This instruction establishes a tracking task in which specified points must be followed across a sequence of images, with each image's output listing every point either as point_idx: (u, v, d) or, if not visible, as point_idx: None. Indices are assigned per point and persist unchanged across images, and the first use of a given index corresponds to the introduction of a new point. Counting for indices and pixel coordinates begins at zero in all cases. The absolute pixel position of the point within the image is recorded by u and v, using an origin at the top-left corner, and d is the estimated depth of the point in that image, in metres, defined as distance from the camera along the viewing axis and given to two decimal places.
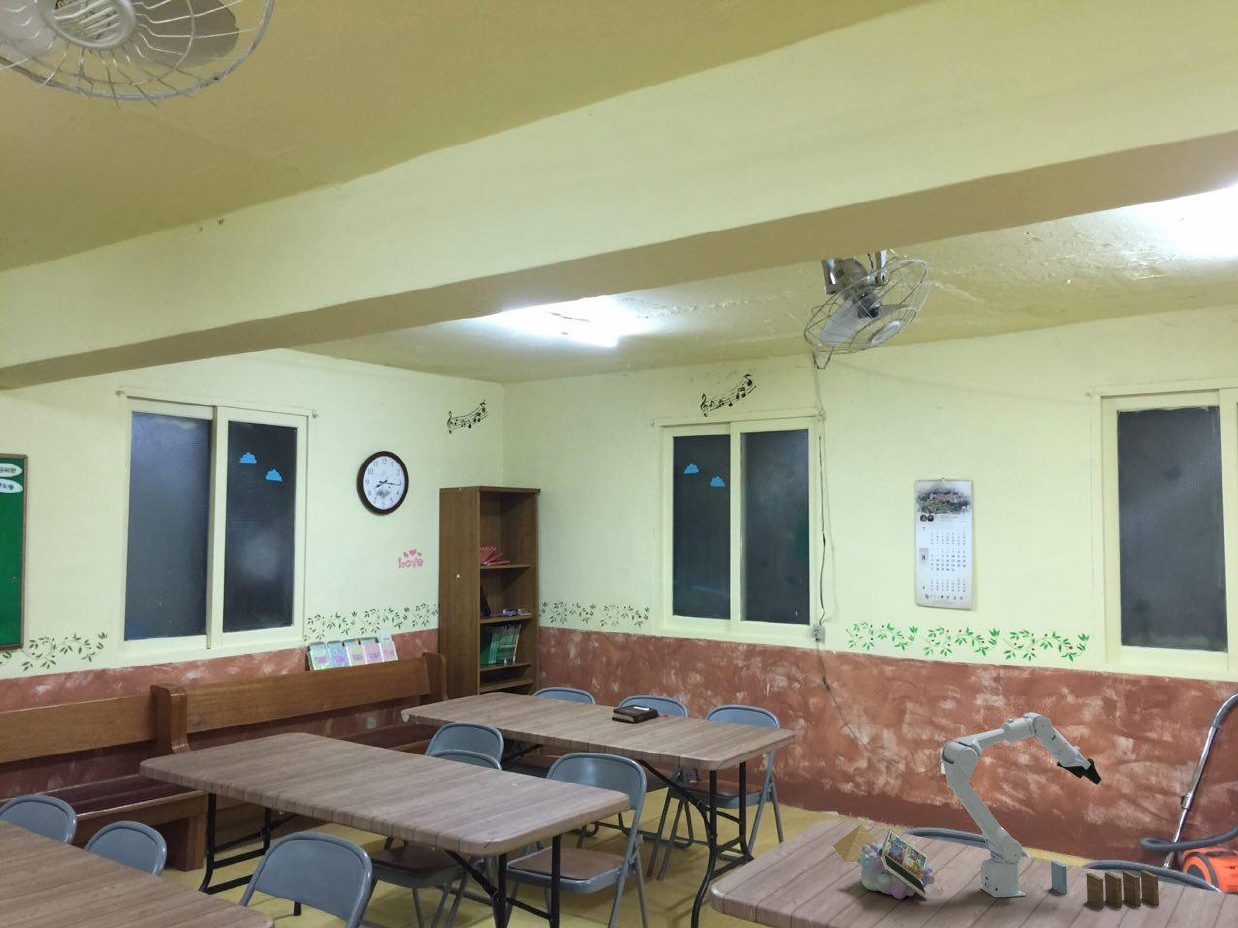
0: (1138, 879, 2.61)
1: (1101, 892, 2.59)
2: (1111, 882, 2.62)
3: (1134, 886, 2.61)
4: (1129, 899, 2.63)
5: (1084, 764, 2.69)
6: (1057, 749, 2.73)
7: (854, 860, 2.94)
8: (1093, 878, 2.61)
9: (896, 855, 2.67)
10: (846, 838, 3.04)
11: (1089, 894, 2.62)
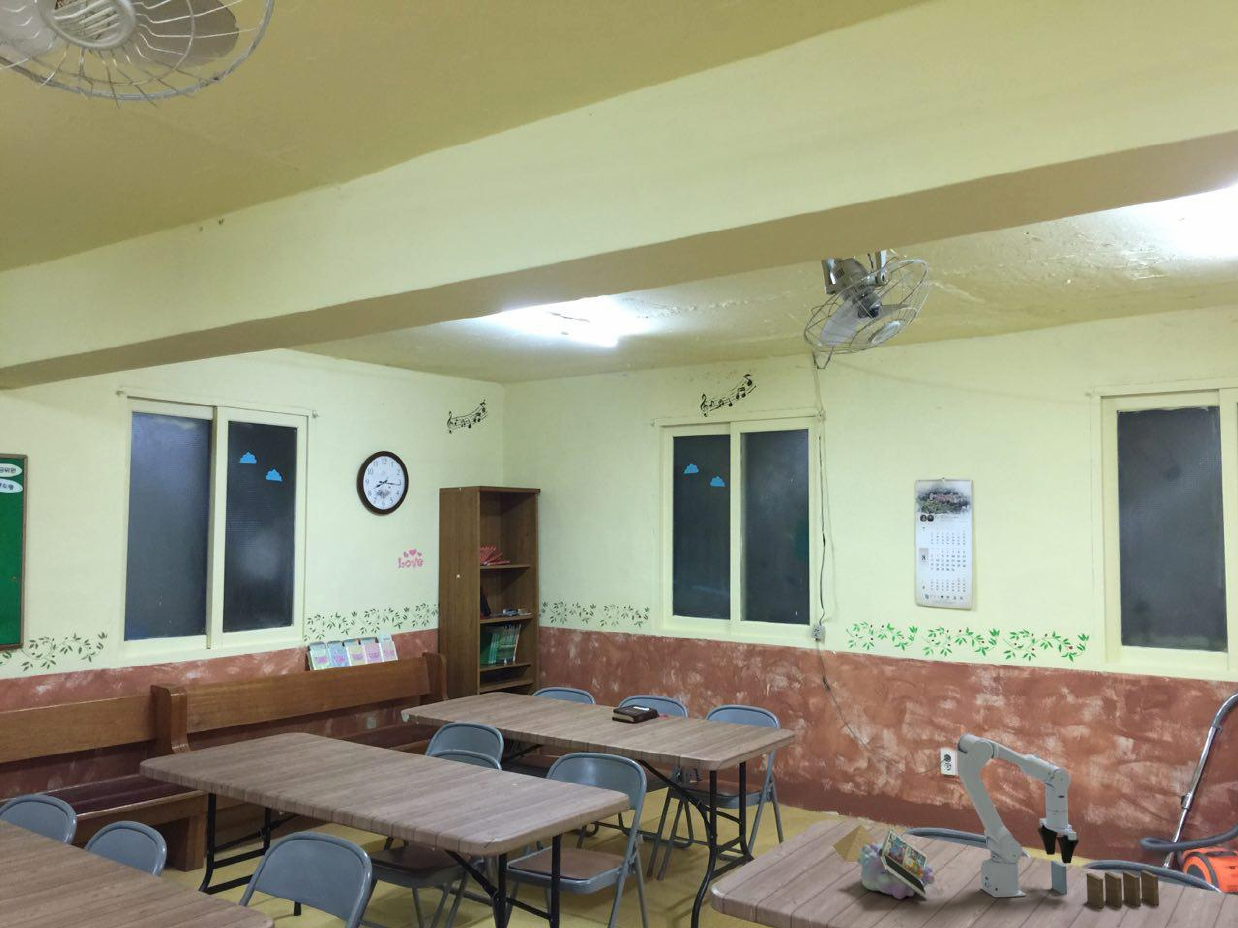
0: (1138, 879, 2.61)
1: (1101, 892, 2.59)
2: (1111, 882, 2.62)
3: (1134, 886, 2.61)
4: (1129, 899, 2.63)
5: (1071, 834, 2.66)
6: (1055, 808, 2.71)
7: (854, 860, 2.94)
8: (1093, 878, 2.61)
9: (896, 855, 2.67)
10: (846, 838, 3.04)
11: (1089, 894, 2.62)
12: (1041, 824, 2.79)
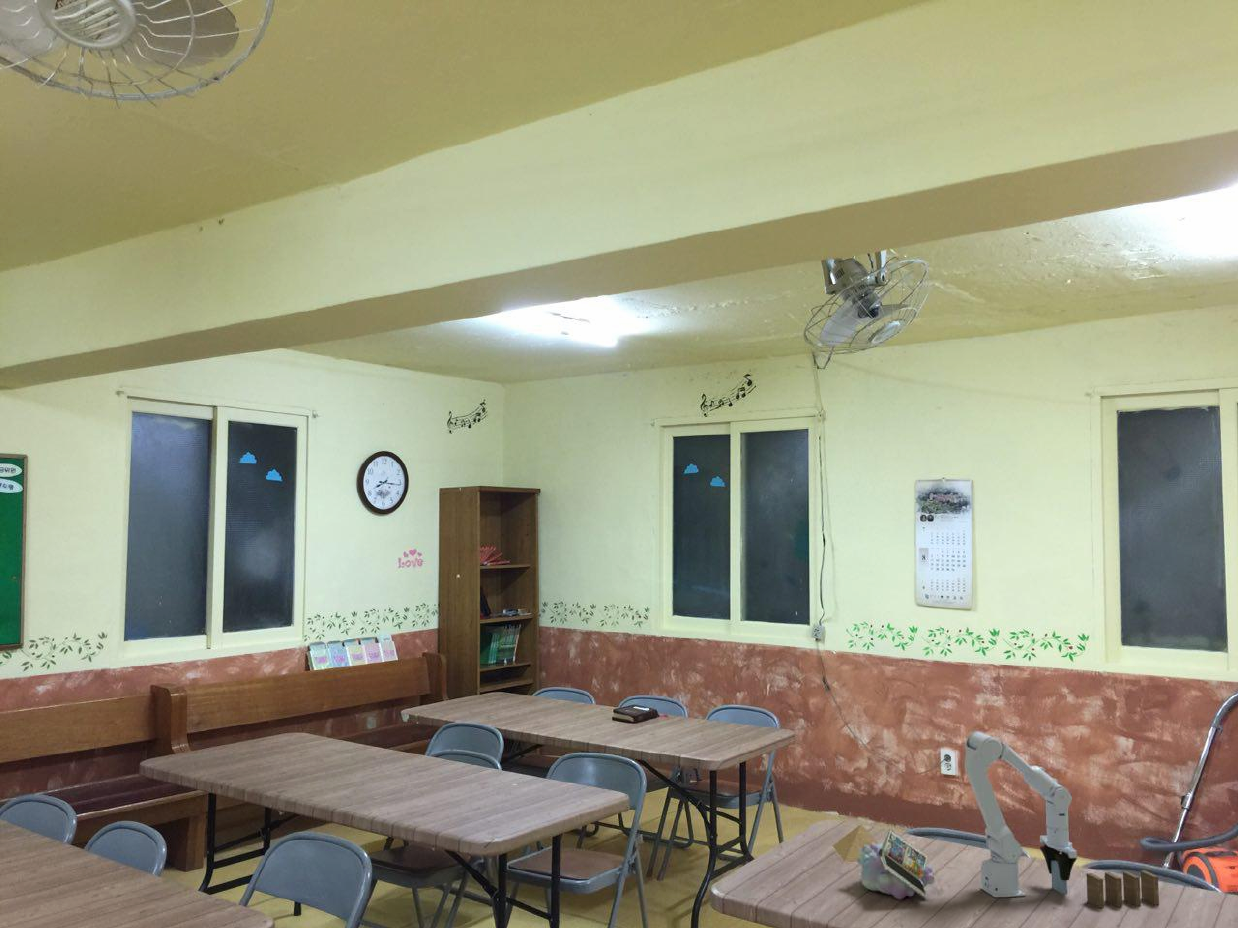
0: (1138, 879, 2.61)
1: (1101, 892, 2.59)
2: (1111, 882, 2.62)
3: (1134, 886, 2.61)
4: (1129, 899, 2.63)
5: (1072, 852, 2.65)
6: (1056, 826, 2.70)
7: (854, 860, 2.94)
8: (1093, 878, 2.61)
9: (896, 855, 2.67)
10: (845, 838, 3.04)
11: (1089, 894, 2.62)
12: (1041, 841, 2.78)
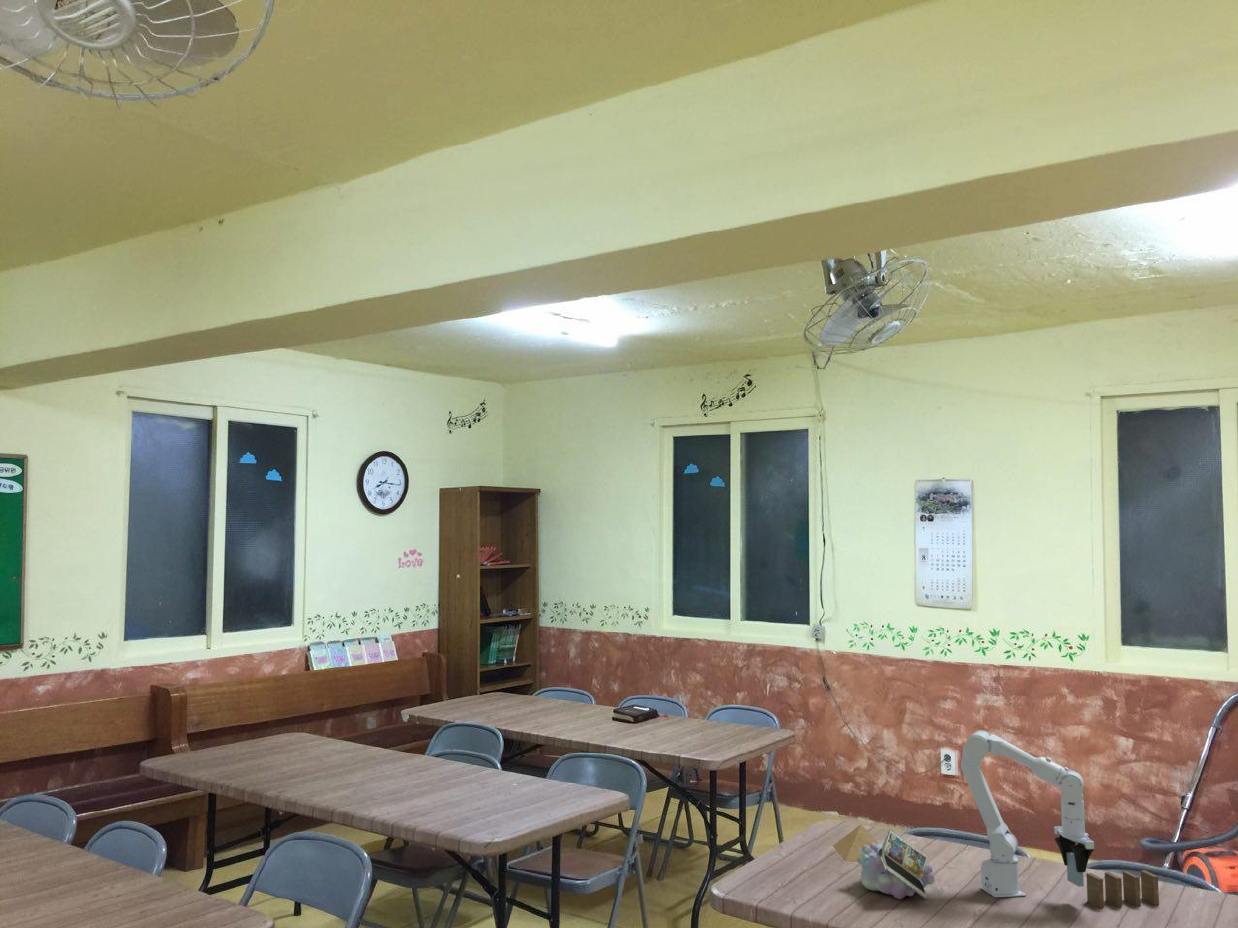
0: (1138, 879, 2.61)
1: (1101, 892, 2.59)
2: (1111, 882, 2.62)
3: (1134, 886, 2.61)
4: (1129, 899, 2.63)
5: (1089, 843, 2.55)
6: (1065, 814, 2.62)
7: (854, 860, 2.94)
8: (1093, 878, 2.61)
9: (896, 855, 2.67)
10: (846, 838, 3.04)
11: (1089, 894, 2.62)
12: (1056, 832, 2.68)
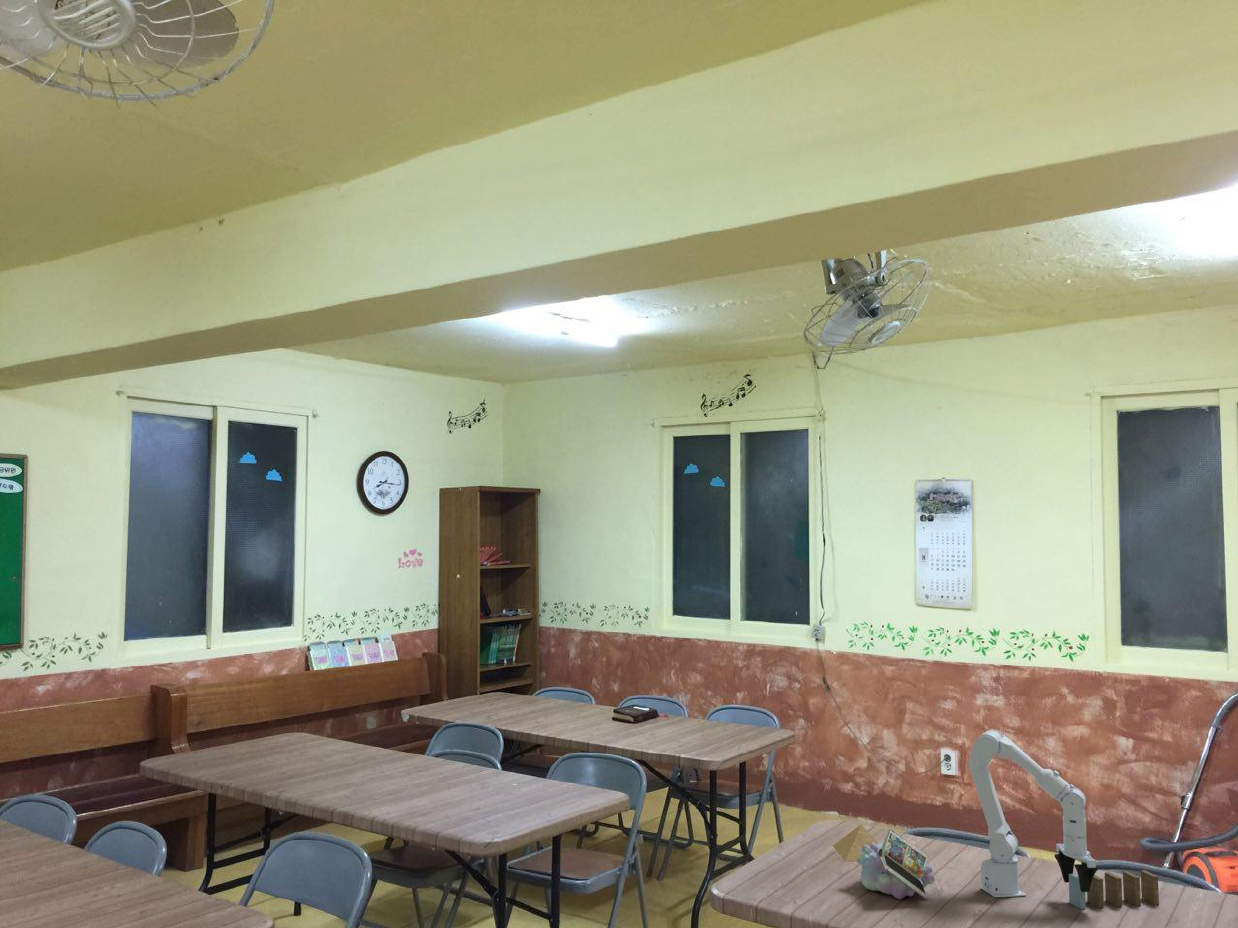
0: (1138, 879, 2.61)
1: (1101, 892, 2.59)
2: (1111, 882, 2.62)
3: (1134, 886, 2.61)
4: (1129, 899, 2.63)
5: (1090, 862, 2.54)
6: (1067, 832, 2.61)
7: (854, 860, 2.94)
8: (1093, 878, 2.61)
9: (896, 855, 2.67)
10: (846, 838, 3.04)
11: (1089, 894, 2.62)
12: (1058, 850, 2.67)
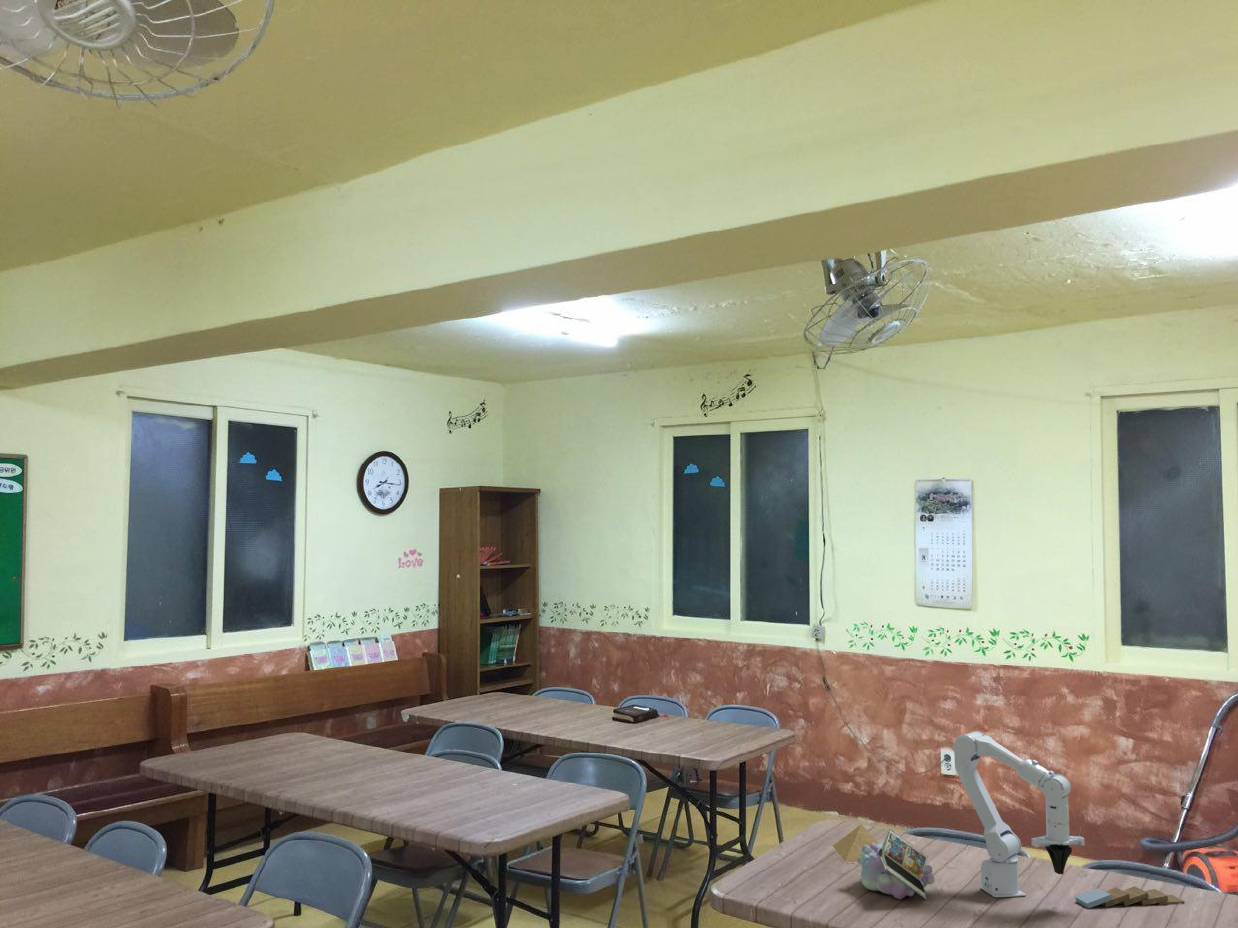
0: (1165, 899, 2.61)
1: (1118, 900, 2.60)
2: (1135, 891, 2.63)
3: (1157, 896, 2.62)
4: None
5: (1032, 840, 2.60)
6: (1048, 818, 2.61)
7: (855, 860, 2.94)
8: (1122, 891, 2.62)
9: (896, 855, 2.67)
10: (846, 838, 3.04)
11: None
12: None
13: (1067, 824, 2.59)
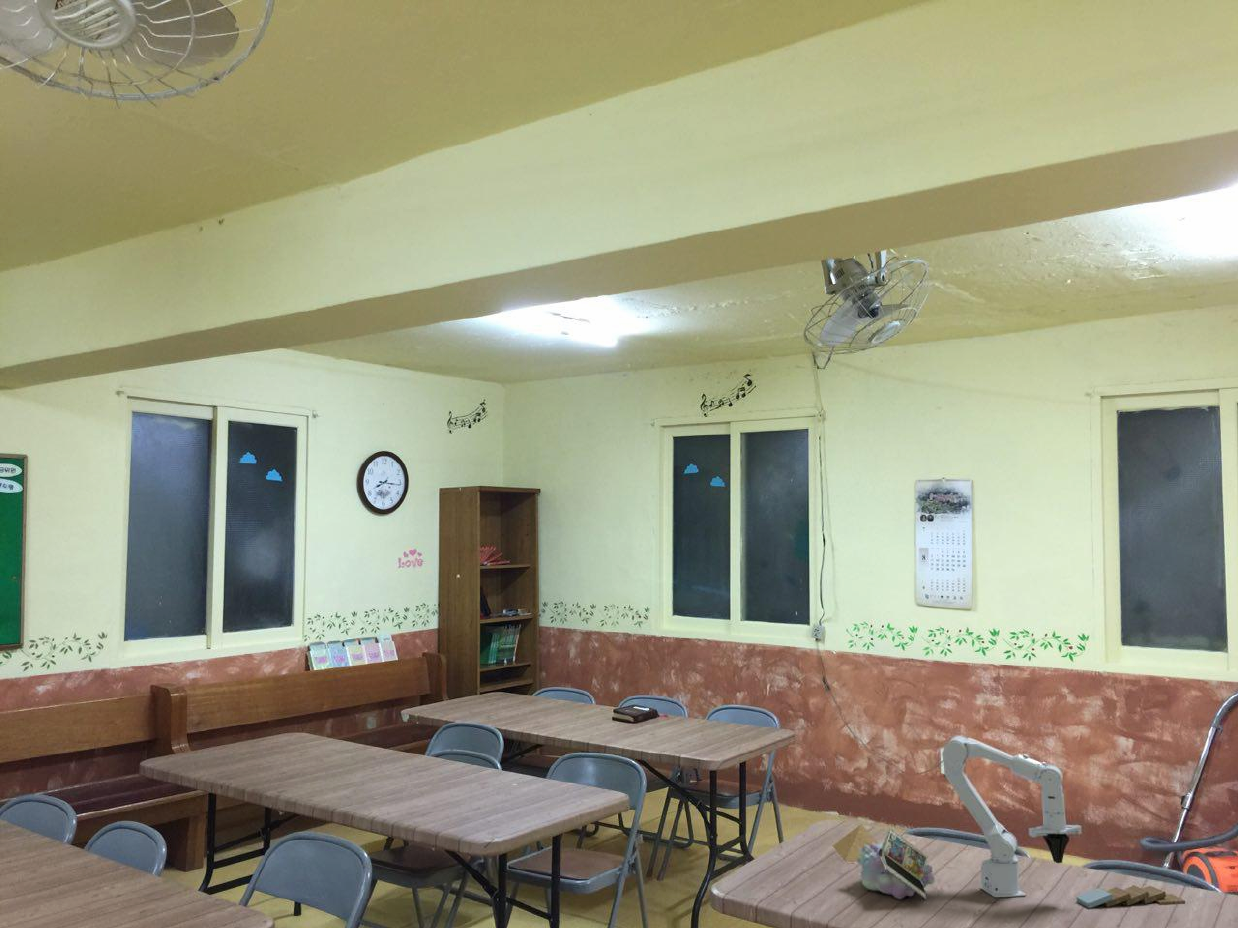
0: (1164, 895, 2.64)
1: (1119, 900, 2.60)
2: (1135, 890, 2.64)
3: (1157, 893, 2.63)
4: None
5: (1029, 830, 2.65)
6: (1046, 808, 2.64)
7: (855, 860, 2.94)
8: (1123, 891, 2.62)
9: (896, 855, 2.67)
10: (846, 838, 3.04)
11: None
12: None
13: (1063, 813, 2.63)
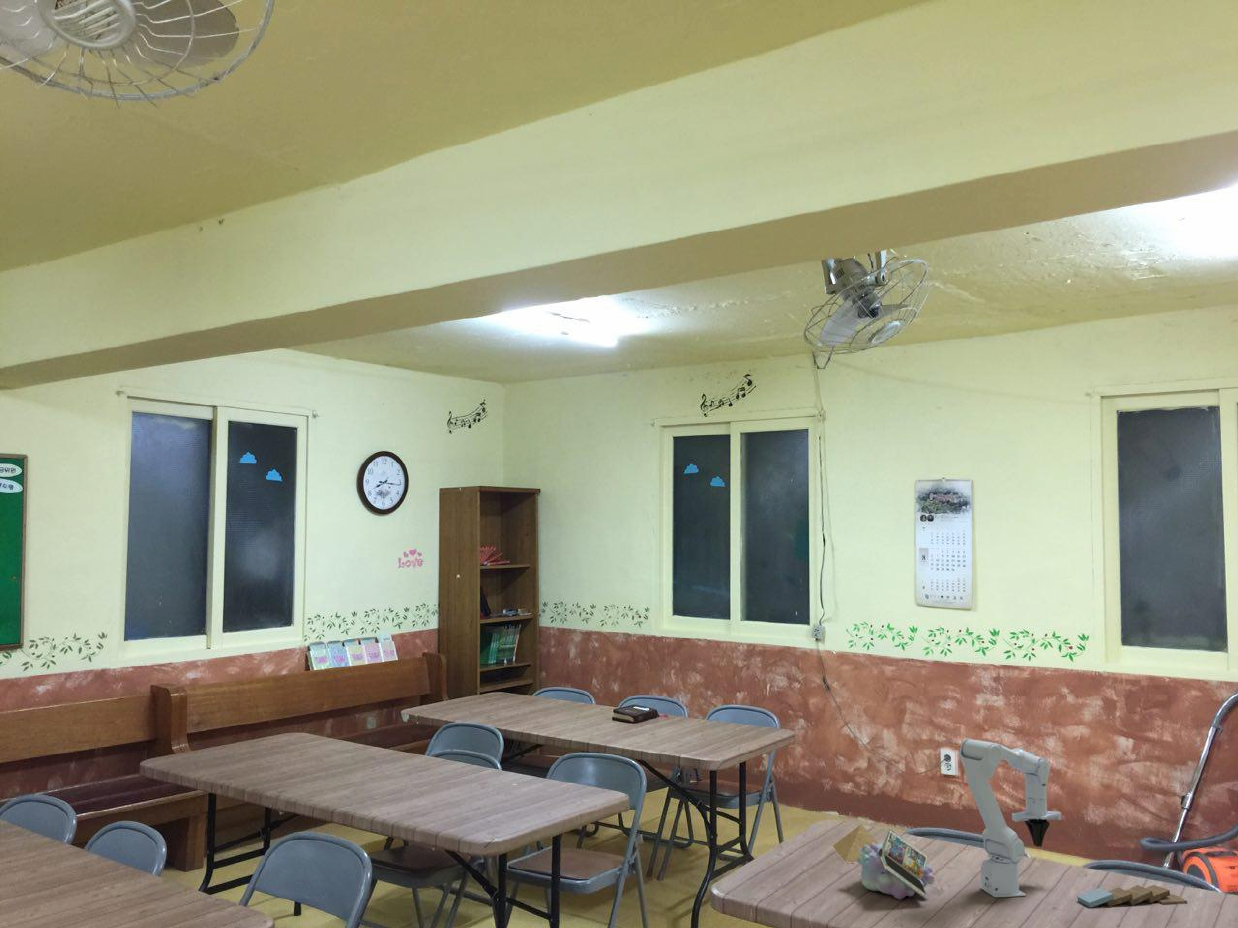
0: (1168, 894, 2.64)
1: (1121, 900, 2.60)
2: (1139, 890, 2.64)
3: (1161, 892, 2.64)
4: None
5: (1012, 815, 2.79)
6: (1039, 796, 2.77)
7: (855, 860, 2.94)
8: (1124, 891, 2.63)
9: (896, 855, 2.67)
10: (846, 838, 3.04)
11: None
12: None
13: (1045, 800, 2.78)
